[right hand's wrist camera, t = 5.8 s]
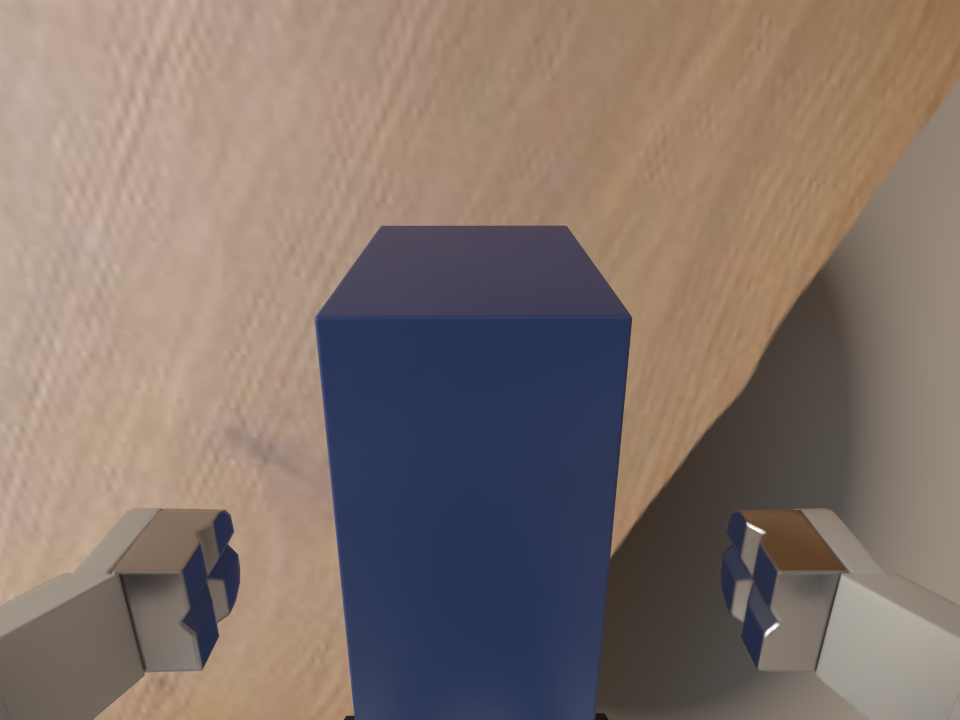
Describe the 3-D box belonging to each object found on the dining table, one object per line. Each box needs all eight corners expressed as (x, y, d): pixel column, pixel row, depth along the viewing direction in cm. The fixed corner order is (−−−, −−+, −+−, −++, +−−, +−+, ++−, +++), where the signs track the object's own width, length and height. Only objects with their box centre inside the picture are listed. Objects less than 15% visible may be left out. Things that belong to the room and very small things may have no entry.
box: (380, 225, 21) (313, 317, 12) (567, 225, 21) (633, 316, 12) (407, 700, 29) (378, 962, 20) (543, 699, 29) (573, 959, 20)
